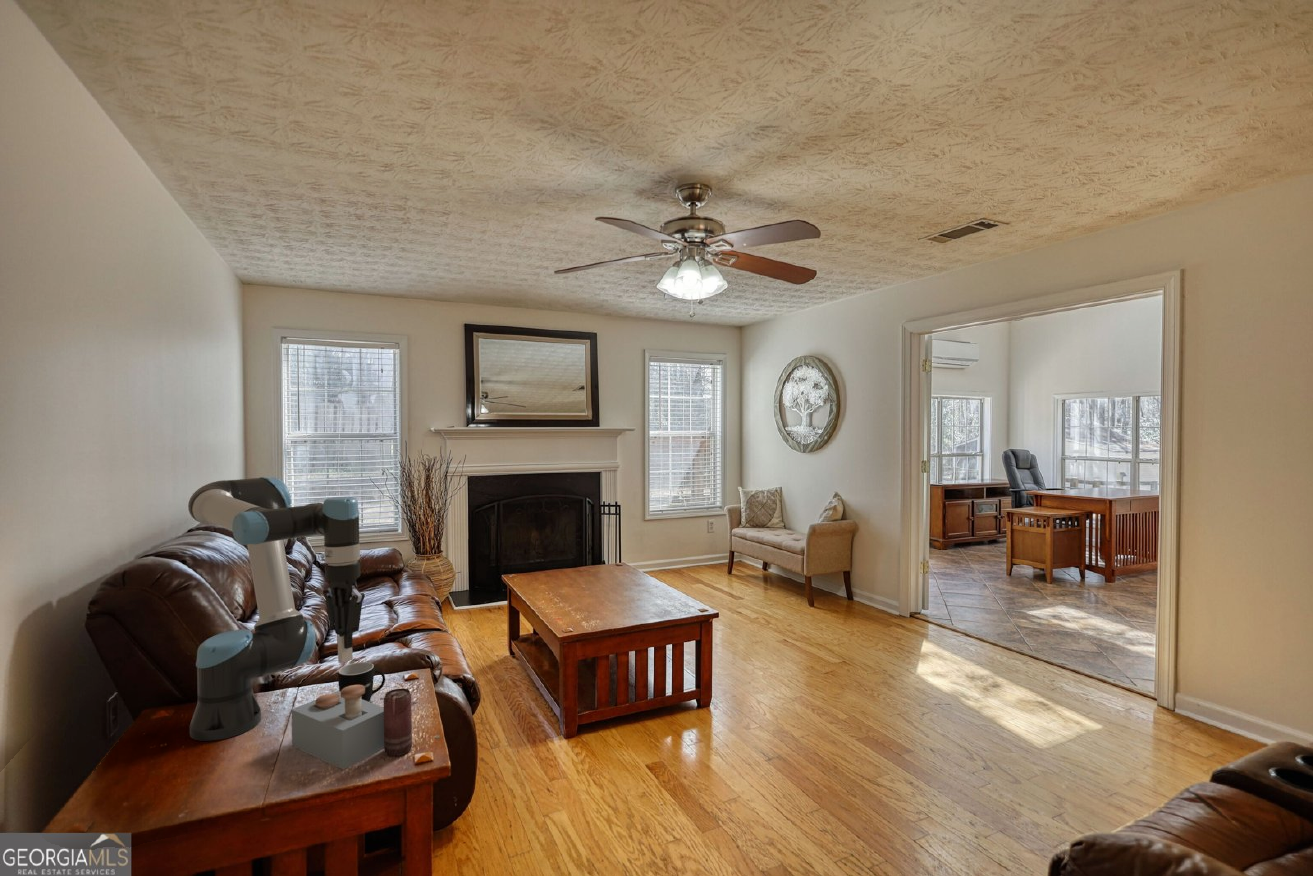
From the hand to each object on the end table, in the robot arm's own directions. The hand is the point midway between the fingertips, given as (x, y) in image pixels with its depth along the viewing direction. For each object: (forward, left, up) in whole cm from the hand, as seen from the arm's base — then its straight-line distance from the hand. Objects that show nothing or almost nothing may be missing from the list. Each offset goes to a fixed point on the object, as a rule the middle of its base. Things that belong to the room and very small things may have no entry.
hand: (345, 660), depth 149 cm
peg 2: (+3, 0, -16) cm, 17 cm away
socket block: (-2, 0, -21) cm, 22 cm away
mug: (-18, +17, -22) cm, 33 cm away
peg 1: (-7, 0, -21) cm, 22 cm away
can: (+12, +6, -22) cm, 25 cm away
